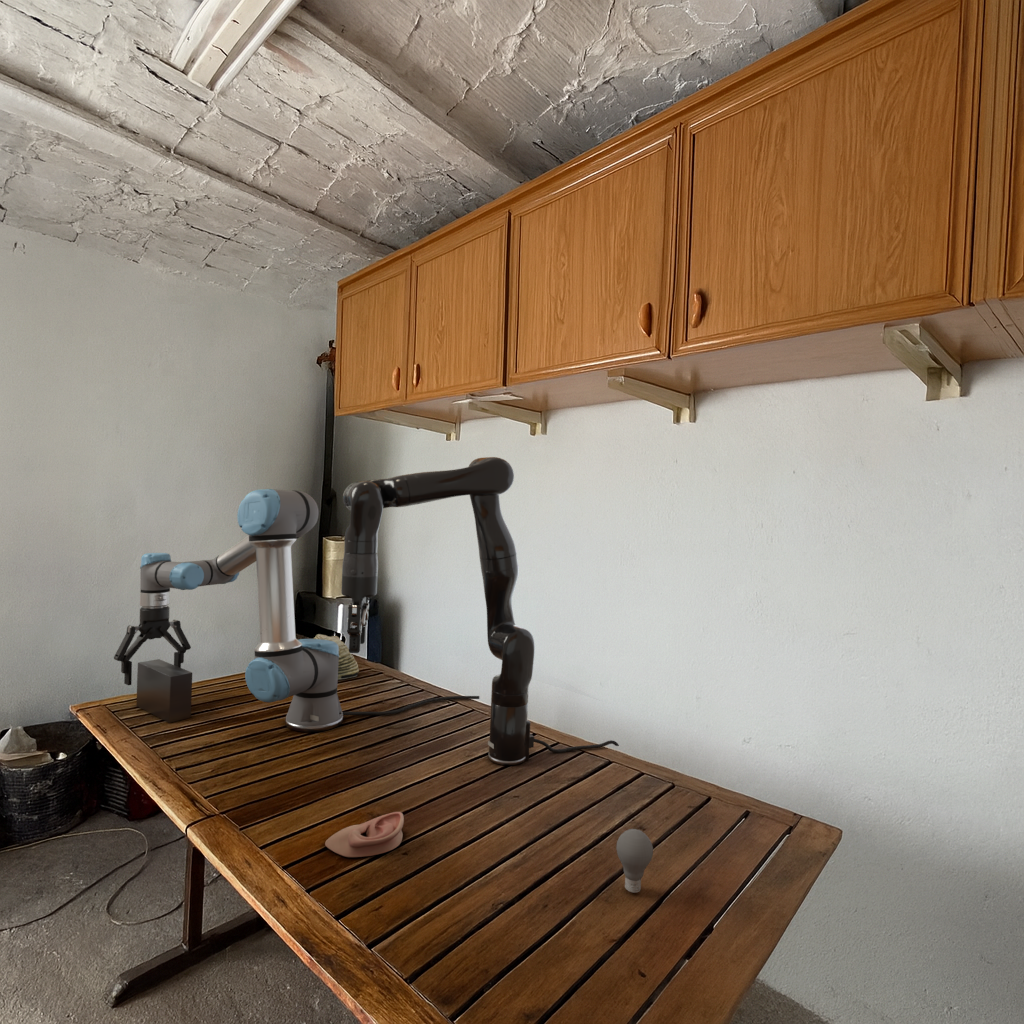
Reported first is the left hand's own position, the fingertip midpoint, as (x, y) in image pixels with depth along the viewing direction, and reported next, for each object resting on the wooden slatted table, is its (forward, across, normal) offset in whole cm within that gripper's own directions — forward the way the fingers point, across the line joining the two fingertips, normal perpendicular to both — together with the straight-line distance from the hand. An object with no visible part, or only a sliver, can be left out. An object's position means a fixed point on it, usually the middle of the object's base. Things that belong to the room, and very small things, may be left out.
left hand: (153, 679), depth 184 cm
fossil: (+8, +54, -12) cm, 56 cm away
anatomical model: (+9, -8, -102) cm, 103 cm away
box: (+8, 0, -7) cm, 10 cm away
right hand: (-22, +5, -84) cm, 87 cm away
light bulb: (+10, +12, -147) cm, 148 cm away
